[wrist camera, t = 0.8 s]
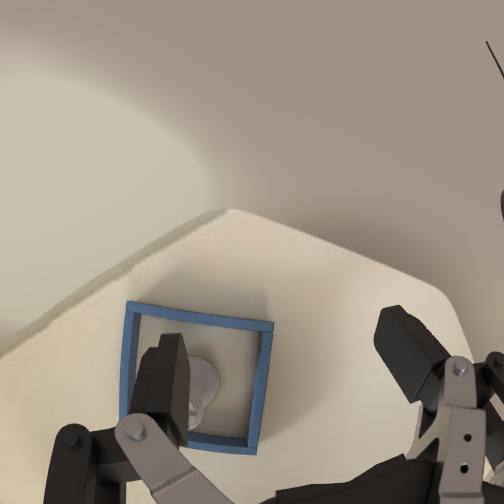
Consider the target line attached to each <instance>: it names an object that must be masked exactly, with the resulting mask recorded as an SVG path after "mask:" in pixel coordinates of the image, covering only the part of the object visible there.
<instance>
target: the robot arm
mask: <svg viewBox="0 0 504 504" xmlns="http://www.w3.org/2000/svg"><path fill="white" fill-rule="evenodd" d="M486 44H487V46H488V48H489V50H490V52H491V54H492V56H493V58H494V59H495V62H496V63H497V66H498V68H499V70H500V72H501V74H502V76H503V78H504V73H503V71H502V69H501V67H500V65H499V63H498V61H497V59H496V58H495V56H494V54H493V52H492V50H491V48H490V46H489V44H488V42H487V41H486ZM374 346H375V348H376V350H377V352H378V353H379V355H380V357H381V358H382V360H383V361H384V363H385V364H386V366H387V367H388V369H389V371H390V372H391V374H392V375H393V377H394V378H395V380H396V382H397V383H398V385H399V386H400V388H401V390H402V391H403V393H404V395H405V396H406V398H407V399H408V401H409V403H410V404H411V403H414V402H416V401H418V400H421V402H422V404H421V405H420V408H419V414H418V419H417V425H416V430H415V435H414V440H413V444H412V446H411V449H410V450H409V452H408V454H407V456H406V458H405V456H404V454H401V455H399V456H396V457H394V458H392V459H389V460H387V461H384V462H382V463H379V464H376V465H375V466H373V467H372V468H370V469H369V470H367V471H366V472H364V473H362V474H361V475H359V476H358V477H356V478H354V479H353V480H351V481H349V482H345V483H332V484H309V485H305V486H300V487H295V488H290V489H284V490H277V491H276V493H275V497H272V498H270V499H267V500H265V501H263V502H261V503H259V504H504V421H502V419H501V418H500V416H499V414H498V413H497V411H496V410H495V408H494V407H493V405H492V404H491V402H490V401H489V400H490V399H491V398H492V396H493V395H494V394H495V393H496V394H497V395H498V397H499V398H500V400H501V401H502V403H503V404H504V354H502V353H500V352H491V353H489V354H488V356H487V358H486V360H485V361H484V362H483V363H475V364H472V363H471V362H470V361H469V360H468V359H466V358H464V357H462V356H451V355H450V354H449V353H448V352H447V350H446V349H445V348H444V347H443V346H442V345H441V343H440V342H439V341H438V340H437V339H436V338H435V337H434V335H432V333H431V332H430V331H429V330H428V329H426V326H425V325H424V324H423V323H422V322H421V321H420V320H419V319H417V318H416V317H414V316H412V315H410V314H408V313H407V312H406V311H405V310H404V309H403V308H402V307H401V306H400V305H395V306H391V307H386V308H383V309H382V310H381V312H380V316H379V319H378V323H377V327H376V331H375V334H374ZM190 376H191V373H190V363H189V359H188V355H187V351H186V348H185V344H184V340H183V336H182V334H181V333H167V334H161V337H160V341H159V346H158V347H149V349H148V350H147V351H146V352H145V354H144V355H143V356H142V358H141V362H140V366H139V370H138V374H137V379H136V382H135V387H134V391H133V395H132V400H131V405H130V409H129V413H128V415H127V416H125V417H123V418H122V419H121V420H120V421H119V422H118V423H117V425H116V427H113V428H110V429H104V430H98V431H92V432H89V430H88V429H87V428H86V427H84V426H83V425H80V424H68V425H66V426H64V427H63V428H61V429H60V431H59V432H58V434H57V436H56V439H55V443H54V447H53V451H52V456H51V460H50V465H49V470H48V476H47V481H46V487H45V494H44V501H43V504H126V482H130V481H136V480H143V481H144V483H145V484H146V485H147V487H148V488H149V490H150V494H151V496H152V497H153V499H154V500H155V501H156V503H157V504H234V503H233V502H232V501H231V500H230V499H228V498H227V497H226V496H225V495H224V494H223V493H222V492H221V491H220V490H219V489H217V488H216V487H215V486H214V485H213V484H212V483H211V482H210V481H209V480H208V479H207V478H206V477H205V476H204V475H203V474H202V473H201V472H200V471H199V470H198V469H197V468H195V467H194V466H192V465H191V464H190V462H189V461H188V460H187V459H186V458H185V457H184V456H183V455H182V454H181V452H180V451H179V446H188V420H189V395H190ZM485 455H486V457H487V459H488V461H489V463H490V465H491V467H492V469H493V471H494V476H493V477H492V478H491V479H490V483H488V482H485V481H482V480H483V472H484V462H485Z"/></svg>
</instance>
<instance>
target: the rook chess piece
mask: <svg viewBox="0 0 504 504" xmlns="http://www.w3.org/2000/svg"><path fill="white" fill-rule="evenodd" d="M188 359H189V363H190V373H191V376H190V395H189V420H188V430H191V429H193V428H196V427H197V425H198V424H199V423H200V422H201V421H202V419H203V415H204V406H207V405H209V404H210V403H211V402H212V400H213V399H214V398H215V397H216V395H217V392H218V389H219V378H218V374H217V373H216V371H215V369H214V368H213V366H212V365H211V364H209V363H208V362H207V361H205V360H204V359H201V358H198V357H195V356H188Z"/></svg>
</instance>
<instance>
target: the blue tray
mask: <svg viewBox="0 0 504 504" xmlns="http://www.w3.org/2000/svg"><path fill="white" fill-rule="evenodd" d="M141 314H145V315H151V316H156V317H161V318H167V319H173V320H179V321H185V322H191V323H198V324H204V325H211V326H219V327H226V328H234V329H242V330H251V331H260V339H259V347H258V355H257V363H256V371H255V379H254V387H253V395H252V402H251V410H250V417H249V425H248V432H247V439H242V438H231V437H222V436H213V435H206V434H199V433H193V432H188V446H181V447H186V448H192V449H198V450H205V451H212V452H220V453H230V454H242V455H256V454H257V447H258V441H259V434H260V427H261V421H262V414H263V407H264V400H265V393H266V385H267V378H268V370H269V362H270V354H271V346H272V338H273V330H274V322H270V321H260V320H251V319H243V318H235V317H227V316H219V315H212V314H205V313H198V312H191V311H185V310H179V309H173V308H167V307H161V306H155V305H150V304H144V303H139V302H133V301H127V304H126V312H125V321H124V330H123V340H122V352H121V366H120V388H119V421H120V420H121V419H122V418H123V417H125V416H127V415H128V413H129V409H130V405H131V400H132V395H133V391H134V387H135V372H136V358H137V346H138V336H139V327H140V318H141Z"/></svg>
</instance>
